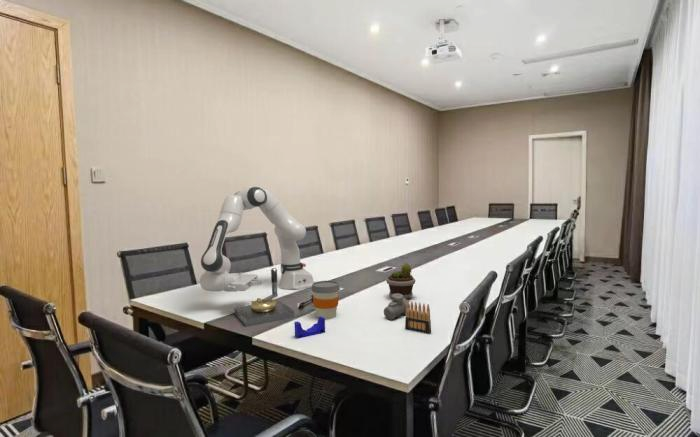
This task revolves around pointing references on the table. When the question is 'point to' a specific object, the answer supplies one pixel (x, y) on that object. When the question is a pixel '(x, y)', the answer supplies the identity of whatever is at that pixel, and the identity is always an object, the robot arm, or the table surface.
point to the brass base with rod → (267, 302)
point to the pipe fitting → (396, 306)
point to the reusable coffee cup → (325, 298)
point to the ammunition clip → (418, 318)
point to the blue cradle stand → (310, 329)
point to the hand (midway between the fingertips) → (261, 282)
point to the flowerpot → (401, 282)
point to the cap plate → (263, 314)
